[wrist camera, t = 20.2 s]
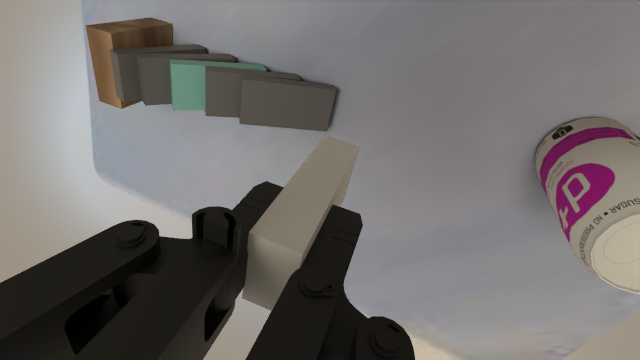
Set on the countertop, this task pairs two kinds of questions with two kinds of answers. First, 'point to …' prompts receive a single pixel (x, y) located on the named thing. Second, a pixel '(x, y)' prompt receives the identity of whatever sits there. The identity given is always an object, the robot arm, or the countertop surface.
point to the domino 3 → (195, 81)
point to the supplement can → (596, 195)
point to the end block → (120, 37)
